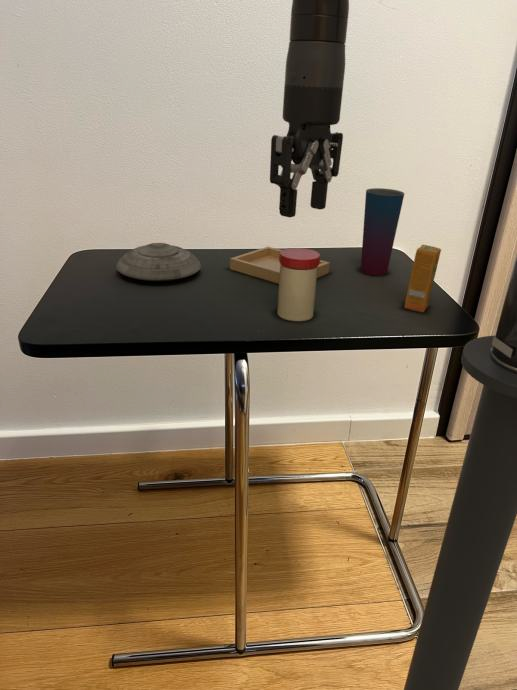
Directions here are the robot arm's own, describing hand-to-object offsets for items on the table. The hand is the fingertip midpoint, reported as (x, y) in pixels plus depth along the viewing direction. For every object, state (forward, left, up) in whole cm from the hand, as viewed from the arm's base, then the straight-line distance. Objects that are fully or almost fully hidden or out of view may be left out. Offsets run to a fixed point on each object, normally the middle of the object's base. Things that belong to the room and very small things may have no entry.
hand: (303, 212), depth 77 cm
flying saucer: (+29, +2, -16) cm, 33 cm away
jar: (0, 0, -16) cm, 16 cm away
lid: (0, 0, -6) cm, 6 cm away
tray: (+14, -15, -16) cm, 26 cm away
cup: (+1, -28, -16) cm, 32 cm away
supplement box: (-13, -16, -16) cm, 26 cm away
